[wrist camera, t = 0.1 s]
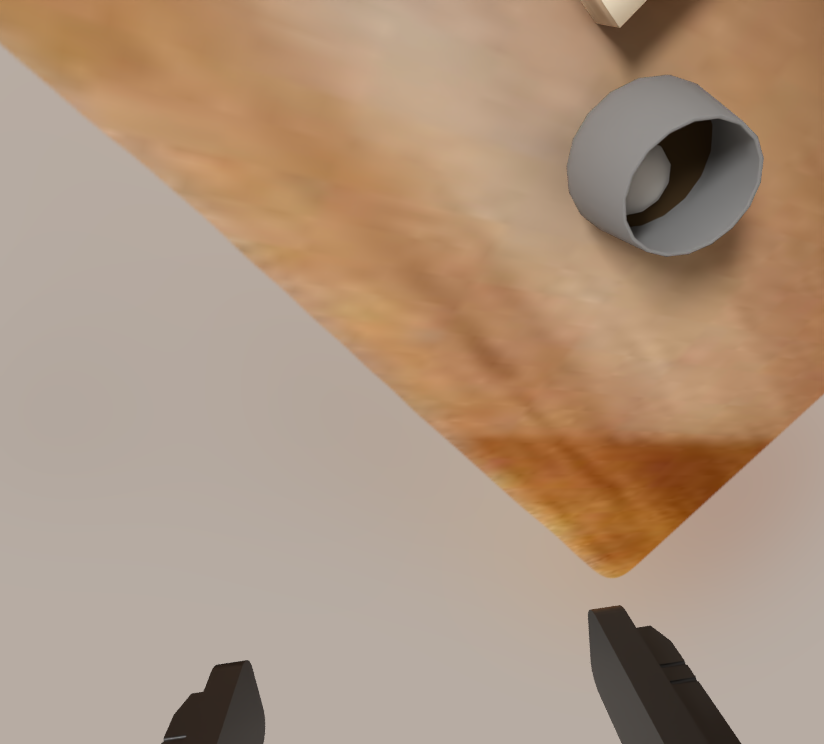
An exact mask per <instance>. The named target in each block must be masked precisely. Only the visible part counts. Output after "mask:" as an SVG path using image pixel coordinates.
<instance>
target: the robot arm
mask: <svg viewBox="0 0 824 744" xmlns="http://www.w3.org/2000/svg"><path fill="white" fill-rule="evenodd" d="M588 623H589V640H590V657H591V667H592V672H593V676H594V680H595V683H596V687H597V689H598V692H599V694H600V697H601V699H602V701H603V703H604V705H605V708H606V710H607V712H608V714H609V716H610V719H611V721H612V723H613V725H614V727H615V729H616V732H617V734H618V736H619V738H620V740H621V743H622V744H741V743H740V741H739V740H738V738H737V737H736V735H735V734H734V732H733V731H732V729H731V728H730V726H729V725H728V724H727V722H726V721H725V719H724V718H723V716H722V715H721V714H720V712H719V710H718V709H717V708H716V706H715V705H714V703H713V702H712V700H711V699H710V697H709V696H708V694H707V693H706V691H705V690H704V689H703V687H702V686H701V684H700V683H699V682H698V681H697V680H696V677H695V676H694V674H693V673H692V671H691V670H690V668H689V667H688V665H686V664H685V662H684V659H683V658H682V656H681V655H680V654H679V652H678V651H677V649H676V648H675V646H674V645H673V643H672V642H671V641H670V640H669V639H667V638H666V637H665V636H663V635H662V634H661V633H660V632H658V631H657V630H656V629H654V628H653V627H652V626H645V627H639V628H636V627H635V625H634V623H633V622H632V620H631V619H630V617H629V616H628V614H627V612H626V611H625V609H624V608H623V607H622V606H620V605H619V606H612V607H605V608H599V609H592V610H589V612H588ZM264 735H265V716H264V710H263V706H262V702H261V698H260V695H259V691H258V687H257V684H256V680H255V676H254V672H253V669H252V665H251V663H250V662H249V661H248V660H245V661H239V662H233V663H226V664H219V665H216V666H214V668H213V669H212V672H211V674H210V676H209V679H208V682H207V684H206V687H205V689H204V692H199V693H193V694H191V695H190V696H189V697H188V699H187V700H186V701H185V702H184V703H183V705H182V706H181V707H180V708H179V709H178V711H177V712H176V713H175V714H174V716H173V718H172V721H171V723H170V725H169V727H168V730H167V732H166V734H165V736H164V742H163V743H161V744H263V742H264Z"/></svg>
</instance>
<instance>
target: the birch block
mask: <svg viewBox="0 0 824 744" xmlns="http://www.w3.org/2000/svg"><path fill="white" fill-rule="evenodd" d="M580 1H581V2H582V4H583V5H584V7H585V8H586V10H587V11H588V13H589V14H590V15H591V17H592V18H593V20H594V21H595V23H596V24H601V25H606V26H612V27H617V28H620V27H621V26H622V25H623V24H624V23H625V22H626V21H627V20H628V19H629V18H630V17H631V16H632V15H633V14H634V13H635V12H636V11H637V10H638V9H639V8H640V7H641V6H642V5H643V4H644V3H645V2H646V0H580Z"/></svg>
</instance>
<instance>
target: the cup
mask: <svg viewBox="0 0 824 744" xmlns="http://www.w3.org/2000/svg"><path fill="white" fill-rule="evenodd" d="M763 159H764V158H763V154H762V150H761V147H760V143H759V140H758V136H757V135H756V134H755V133H754V132H753V131H752V130H751V129H750V128H749V127H748V126H747V125H746V124H745V123H744V122H743V121H742V120H741V119H740V118H738V117H737V116H736V115H735V114H733V113H732V112H731V111H730V110H729V109H727V108H726V107H725V106H724V105H722V104H721V103H720V102H719V101H717V100H716V99H715V98H714V97H713V96H711V95H710V94H709V93H708V92H706V91H705V90H704V89H703V88H701V87H700V86H699V85H698V84H696V83H693V82H690V81H687V80H684V79H681V78H678V77H675V76H672V75H662V76H653V77H645V78H638V79H636V80H634V81H632V82H630V83H628V84H626V85H624V86H622V87H620V88H618V89H616V90H614V91H612V92H610V93H609V94H608V95H607V96H606V97H605V98H604V99H603V100H602V101H601V102H600V103H599V104H598V105H597V106H595V107H594V108H593V109H592V110H591V111H590V112H589V113H588V114H587V116H586V118H585V120H584V121H583V123H582V125H581V126H580V128H579V130H578V132H577V133H576V135H575V137H574V138H573V142H572V146H571V150H570V154H569V159H568V163H567V176H568V187H569V193H570V195H571V197H572V199H573V201H574V203H575V205H576V207H577V209H578V210H579V212H580V214H581V215H582V216H583V217H584V218H586V219H587V220H588V221H590V222H591V223H592V224H594V225H595V226H596V227H597V228H599V229H600V230H602V231H604V232H606V233H608V234H610V235H612V236H614V237H617V238H619V239H621V240H623V241H625V242H627V243H629V244H631V245H633V246H635V247H637V248H639V249H642V250H644V251H646V252H649V253H653V254H657V255H662V256H666V257H668V256H676V255H684V254H690V253H692V252H694V251H697V250H699V249H701V248H704V247H706V246H708V245H710V244H712V243H714V242H715V241H716V240H717V239H719V238H720V237H721V236H723V235H724V234H725V233H727V232H728V231H729V230H730V229H732V228H733V227H734V226H735V224H736V223H737V222H738V221H739V219H740V218H741V217H742V216H743V214H744V213H745V212H746V211H747V209H748V208H749V207H750V205H751V203H752V201H753V198H754V196H755V194H756V192H757V189H758V187H759V185H760V183H761V176H762V167H763Z"/></svg>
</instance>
